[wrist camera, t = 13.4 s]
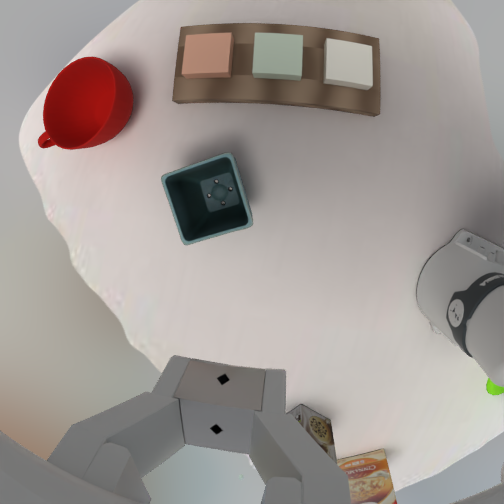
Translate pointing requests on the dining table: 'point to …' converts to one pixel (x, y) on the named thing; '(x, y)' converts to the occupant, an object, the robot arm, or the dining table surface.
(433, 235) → the dining table surface
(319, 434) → the coffee box
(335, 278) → the dining table surface
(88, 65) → the ceramic cup
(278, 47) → the sage tile
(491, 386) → the wineglass
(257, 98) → the button board
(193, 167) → the flower pot
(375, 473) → the coffeecake box
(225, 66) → the pink square block
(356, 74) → the white square block
